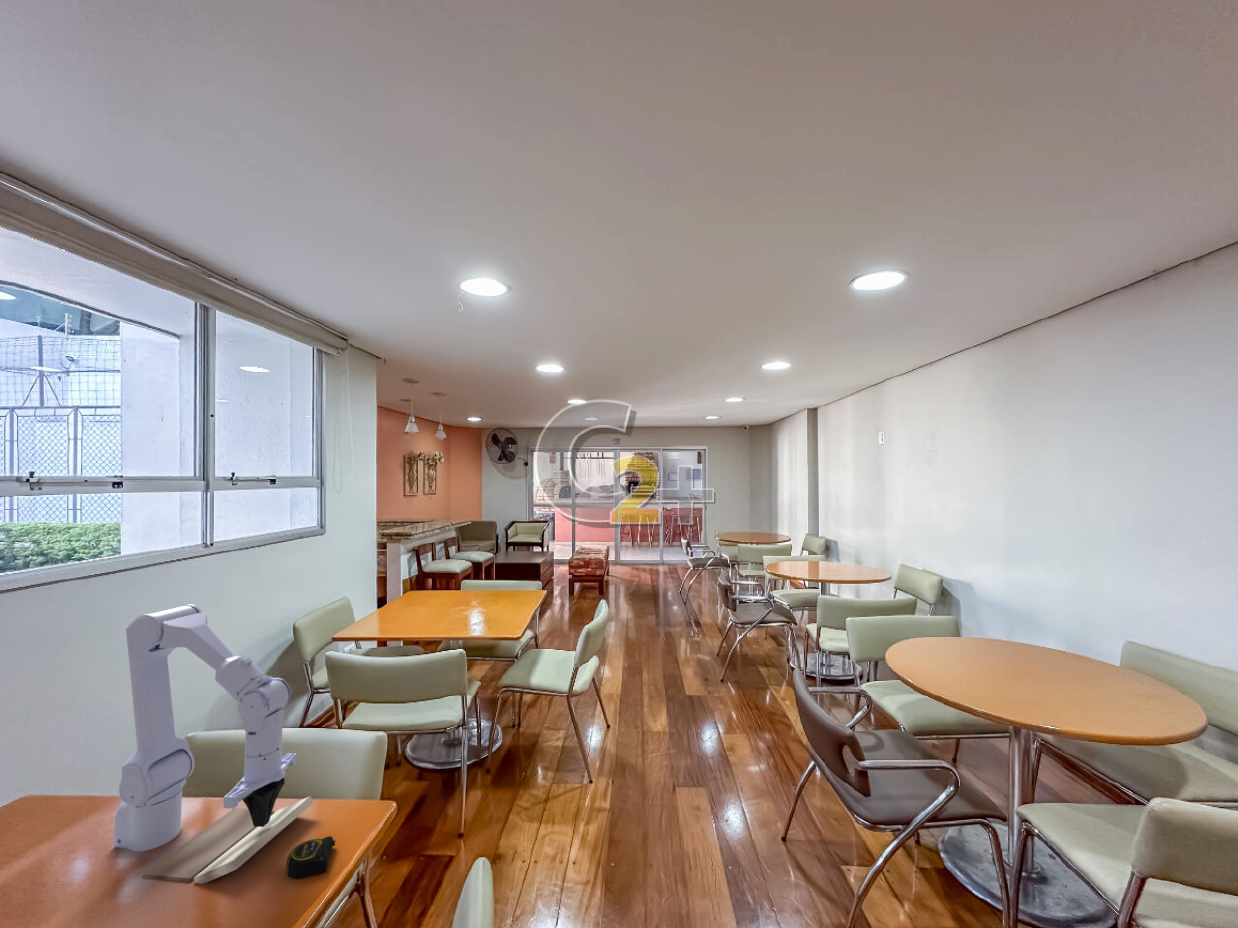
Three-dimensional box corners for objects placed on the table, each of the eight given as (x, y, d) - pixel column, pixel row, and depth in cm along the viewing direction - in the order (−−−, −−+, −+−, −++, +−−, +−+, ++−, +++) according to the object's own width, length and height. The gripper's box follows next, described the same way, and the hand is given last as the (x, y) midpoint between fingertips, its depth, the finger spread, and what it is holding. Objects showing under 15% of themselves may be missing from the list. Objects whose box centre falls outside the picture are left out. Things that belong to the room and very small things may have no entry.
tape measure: (325, 880, 86) (326, 858, 87) (280, 890, 84) (280, 867, 84) (335, 853, 93) (335, 832, 93) (292, 861, 91) (293, 840, 91)
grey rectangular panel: (142, 882, 86) (143, 873, 86) (234, 815, 104) (234, 807, 104) (189, 887, 85) (189, 878, 85) (274, 818, 103) (274, 810, 103)
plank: (194, 887, 85) (191, 878, 85) (278, 818, 102) (275, 811, 103) (236, 869, 84) (232, 860, 84) (313, 802, 102) (310, 795, 102)
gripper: (250, 772, 86) (247, 853, 86) (311, 731, 101) (309, 801, 100) (213, 769, 87) (210, 850, 86) (279, 730, 102) (277, 799, 101)
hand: (261, 824), depth 93 cm, fingers closed
